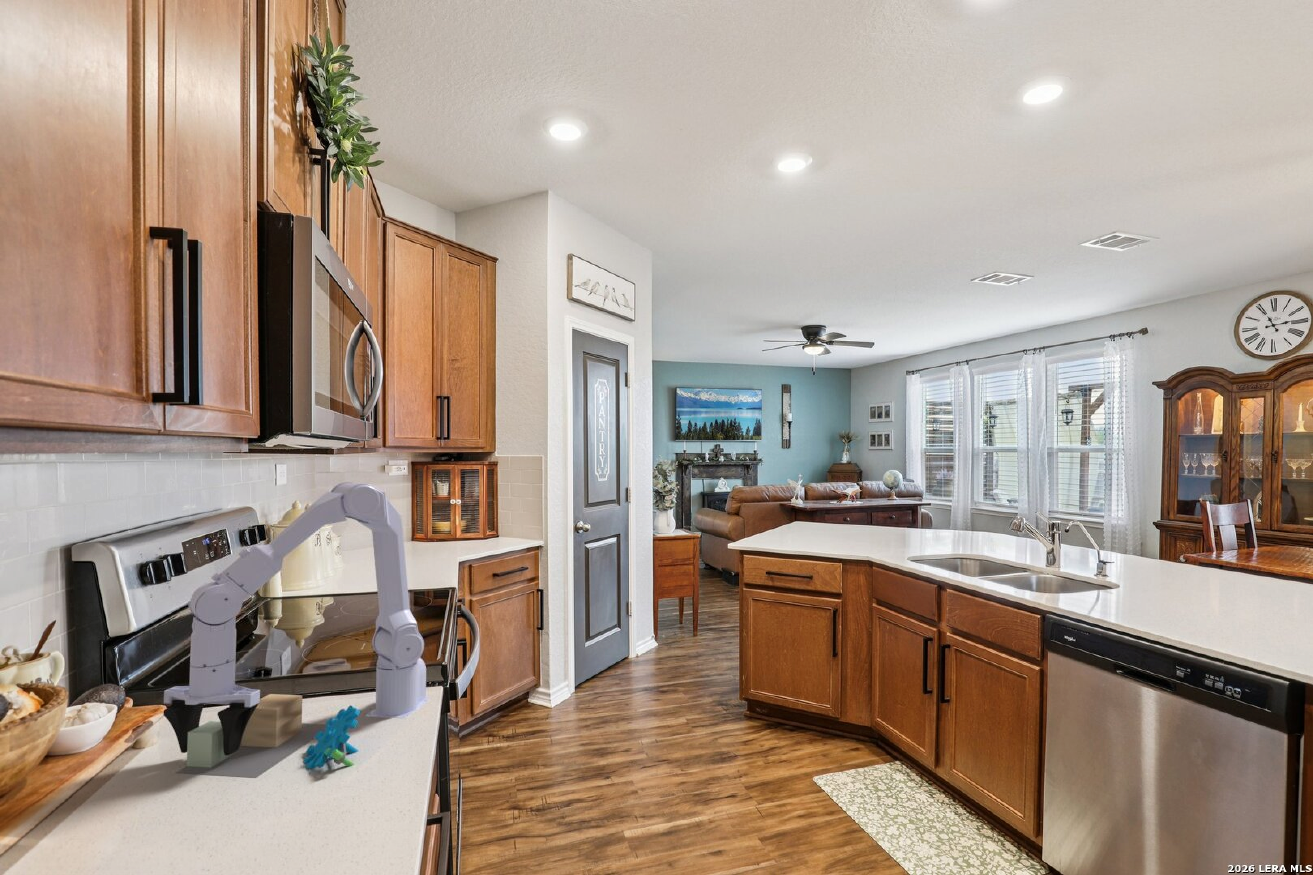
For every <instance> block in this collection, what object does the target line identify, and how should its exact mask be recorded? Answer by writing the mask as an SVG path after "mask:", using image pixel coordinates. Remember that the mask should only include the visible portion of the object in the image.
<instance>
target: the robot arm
mask: <svg viewBox="0 0 1313 875" xmlns="http://www.w3.org/2000/svg"><path fill="white" fill-rule="evenodd" d="M386 494H387V493H386V492H385V491H383V490H382V489H380V488H378V487H377V486H375V485H373V484H370V483H366V482H361V483H357V482H349V481H345V482H340V483H339V484H338V483H337V485H335V486H333V488H332V489H331V490H330V491H327V492H325V493H323V494H322V495H321V496H319V498H318V499H316V501H314V502H313V503H312V504H311V505H309V507H307V509H306V510H304V511H303V512H302V513H301V514H300V515H299V516H297V517H296V518H295V519H294V520H293V521H292V522H291V523H290V524H289V525H288V526H287V527H285V528H284V529H283V530H282V531H281V532H280V533H278V534H277V536H275V538H273V539H272V540H271V541H270V542H269V543H268V544H261V545H260V544H257V545H256V544H255V545H253V546H252V547H250V548H249V549H248V548H243V549H242V550H240V552H238V555H239V556H240V557H238V559H236V560H235V561H234V562H232V563H231V564H230V565H229V566H228V567H226V568H225V569H224V570H223V571H222V572H220V573H218V572H216V573H214V574H213V575H212V576H211V579H212V581H210V582H208V583H204V584H202V585H200V586H199V587H198V588H196V589H195V591H193V594H192V595H191V598H190V601H188V602H187V603H188V604H187V606H188V608H189V611H190V612H191V613H192V615H193V617H192V618H193V619H192V624H191V629H192V633H191V634H190V635H191V636H190V657H189V658H190V659H189V685H185V686H179V685H177V686H173V687H171V688H167V689H165V690H164V691H163V704H170V706H169V707H167V708H165V709H164V710H163V716H164V717H165V718H166V720H167V721H168V723H169V724H170V725H171V727H172V729H173V731H174V733H175V736H176V739H177V743H178V745H179V750H180V752H181V754H185V753H186V754H187V743H188V732H190V731H192V730H194V729H196V728H197V727H199V726H200V722H201V717H202V713H203V709H204V706H205V704H210V705H211V704H214V705H229V707H226V708H224V709H221V710H220V711H218V712H217V717H218V719H219V722H221V725H222V730H223V750H224V755H230V754H232V753H234V752H235V751H237V750H239V747H240V743H241V740H242V736H243V733H244V731H245V728H246V725H247V723H248V721H249V719H250V717H251V715H252V714H253V712H254V710H255V709H256V707H257V706H258V703H259V702H260V699H261V690H260V689H252V688H249V687H245V686H242V685H237V684H236V659H237V658H236V654H237V653H236V651H237V650H236V649H237V628H236V620H237V619H236V618H237V615H238V614H239V613H240V612H241V610H242V607H243V602H244V601H245V600H248V599H249V598H251V596H253V595H254V594H255V593H256V592H257V591H259V589H260V588H262V587H264V585H265V584H266V583H268V582H269V581H270V580H271V579H273V577H275V576H276V575H277V574H278V573H279V572H280V571H281V570H282V568H283V562H284V558H285V557H286V556H287V555H289V554H290V553H291V552H292V551H294V550H295V549H296V548H297V547H299V546H300V545H301V544H302V543H304V542H305V541H306V540H307V539H309V538H310V537H312V535H314V534H315V533H316V532H317V531H319V530H321V529H322V528H323V527H324V526H326V525H330V524H336V523H342V522H346V521H347V518H348V519H351V520H355V521H356V522H358V523H359V524H361V525H363V526H365V527H366V528H368V529H369V530H370V531H371V534H372V536H371V537H372V544H373V555H374V566H375V578H376V589H377V590H376V591H377V601H378V612H379V613H378V615H377V618H376V619H375V632H374V634H373V636H372V641H371V642H372V643H371V644H372V645H371V646H372V649H373V650H374V652H375V653H376V654H377V656H378V657H377V660H376V670H375V671H376V674H375V675H376V677H375V678H376V679H375V680H376V682H375V683H376V684H375V708H373V709H372V710H371V711H369V712H368V713H367V714H365V717H369V718H370V717H372V718H390V719H391V718H392V719H407V718H408V717H410V716H411V715H412V714H414V712H416V711H417V710H418V709H419V708H421V707H422V706H423V705H425V704H426V703H427V702H428V701H429V700H430V699H431V698H430V697H427V667H426V663H425V661H424V660H423V659H422V658H421V656H422V654H423V652H424V649H425V641H424V638H423V636H422V635H421V633H420V631H419V628H418V622H417V620H416V618H415V617H414V615H413V613H412V611H411V609H410V600H409V598H410V597H409V588H408V574H407V565H406V551H405V541H404V540H405V539H404V530H403V520H402V516H401V514H400V512H399V511H397V509H396V508H395V506H394V505H393V504H392V503H391V501H390V500H389V499H388V498H387V495H386Z"/></svg>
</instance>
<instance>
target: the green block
mask: <svg viewBox="0 0 1313 875" xmlns="http://www.w3.org/2000/svg"><path fill="white" fill-rule="evenodd" d="M231 755H232V754H230V755H224V750H223V730H222V725H221V722H220V721H216V720H215V721H212V720H210V721H207V722H206V723H204V724H202V725H199V727H197V728H196V729H194V730H192V731H190V732H188V743H187V752H186V766H194V767H213V766H214V765H216V764H218V763H219V762H221V761H223V760H224V759H226V758H228V757H229V756H231Z"/></svg>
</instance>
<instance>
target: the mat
mask: <svg viewBox="0 0 1313 875" xmlns="http://www.w3.org/2000/svg"><path fill="white" fill-rule="evenodd" d="M325 729H326V723H308V722H307V723H305V722H302V731H301V732H299V733H298V734H296V735H295V736H293V737H292V738H290V739H288V740H287V741H285V742H284V743H282V744H281V745H279V746H277V747H257V746H241V745H242V740H241V743H240V747H239V750H237V751H235V752H234V753H232V755H231V756H229V757H228V758H226V759H224V760H223V761H221V762H219V763H218V764H216V765H214V766H213V767H194V766H187V765H186V766H185V767H183V768H181V769H178V770H177V771H175V772H174V773H175V774H180V775H181V774H182V775H183V774H184V775H198V776H199V775H201V776H218V777H232V778H233V777H234V778H235V777H236V778H249V779H251V778H252V779H253V778H254V779H256V778H259V776H261V775H262V774H264V773H265V772H267V771H268V770H270V769H272V768H273V767H275V766H276V765H277V764H279V763H281V762H282V761H283V760H285V759H287V757H290V756H291V755H292V754H294V753H295V752H297V751H298V750H300V749H301V748H303V747H305V746H306V745H307V744H309V743H310V742H312V741H313V740H315V739H314V737H315V736H316V734H317V733H318V732H319V731H322V732H324V731H325Z"/></svg>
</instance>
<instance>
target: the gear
mask: <svg viewBox="0 0 1313 875" xmlns="http://www.w3.org/2000/svg"><path fill="white" fill-rule="evenodd" d="M359 715H360V709H357V708H356V707H355V706H352V705H349V706H348V707H347V708H346V709H345V708H341V709H340V710H339V711H338V712H337V715H336V717H335V718H334V717H332V716H331V718H329V719H328V720H327V721H326V722H325V724H326V729H325V731H324V732H322V731H319V732H318V733H317V734H316V736H315V737H314V739H313V740H316V741H317V743H316V744H315V745H314V744H310V745H309V746H308V748H307V749H306V751H305V754H307V756H305V757H304V759H303V762H302V764H303V765H305V764H306V765H305V766H306V767H305V768H306V769H307V770H313V769H315V768H316V767H317V768H319V769H320V768H323V767H324V765H325V764H326V763H327V762H326V761H327V759H328V758H330V759H333V762H334V763H335V764H337V765H341V764H343V765H345V766H346V767H353V766H355V763H354V762H352V761H351V760H349V759H347V758H346V757H347V753H348V754H356V753H357V752H359V750H358V749H357V748H356V747H354V746H353V745H352V744H350V743H348V740H349V739H350V738H351V734H349V733H347V732H348V730H349V729H351V730H354V729H355V728H356V727H357V725H358V723H359V720H357V718H359Z"/></svg>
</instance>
